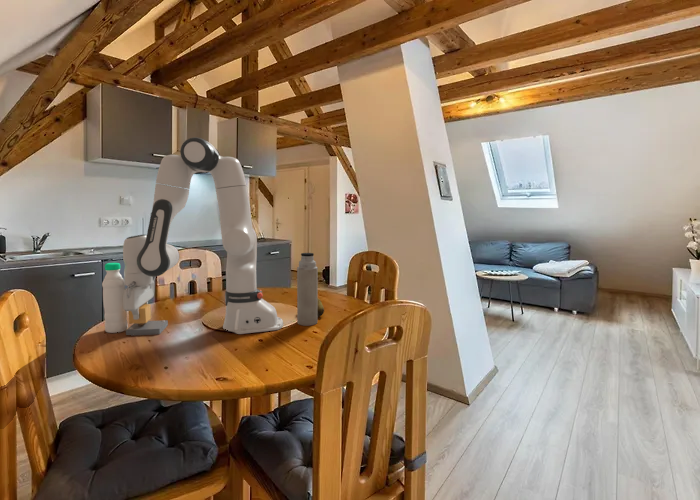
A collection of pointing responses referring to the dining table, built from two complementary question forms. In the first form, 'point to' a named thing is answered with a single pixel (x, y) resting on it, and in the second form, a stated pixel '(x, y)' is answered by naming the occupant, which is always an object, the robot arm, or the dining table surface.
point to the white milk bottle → (114, 299)
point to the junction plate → (147, 328)
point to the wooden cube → (141, 314)
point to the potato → (320, 308)
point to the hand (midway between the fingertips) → (140, 316)
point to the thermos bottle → (307, 290)
